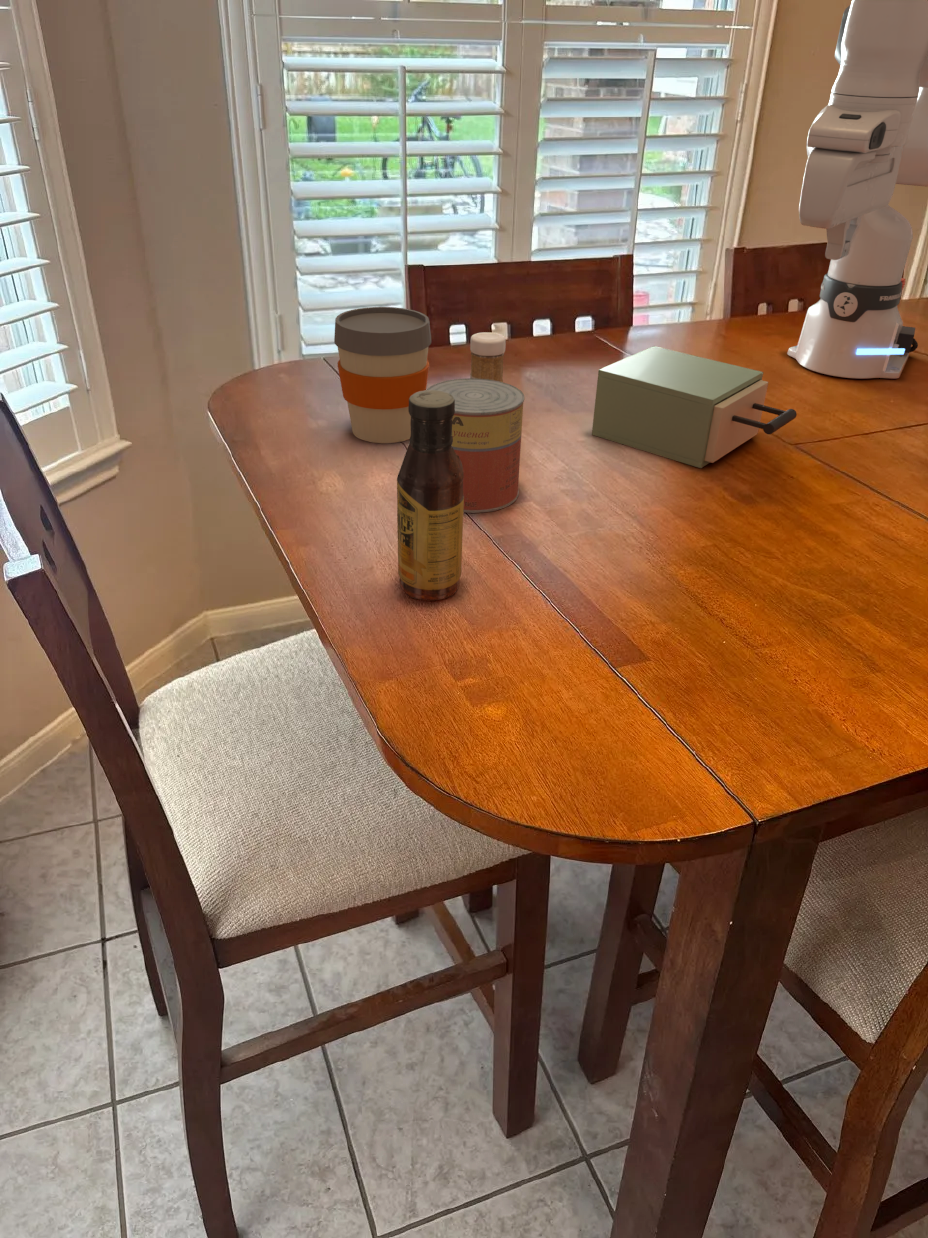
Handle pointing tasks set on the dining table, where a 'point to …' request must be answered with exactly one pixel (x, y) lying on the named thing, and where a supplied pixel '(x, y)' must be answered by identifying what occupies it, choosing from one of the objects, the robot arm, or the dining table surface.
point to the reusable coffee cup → (382, 368)
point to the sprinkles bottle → (487, 356)
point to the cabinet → (665, 401)
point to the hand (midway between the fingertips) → (836, 257)
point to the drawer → (742, 420)
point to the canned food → (486, 440)
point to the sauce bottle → (430, 501)
